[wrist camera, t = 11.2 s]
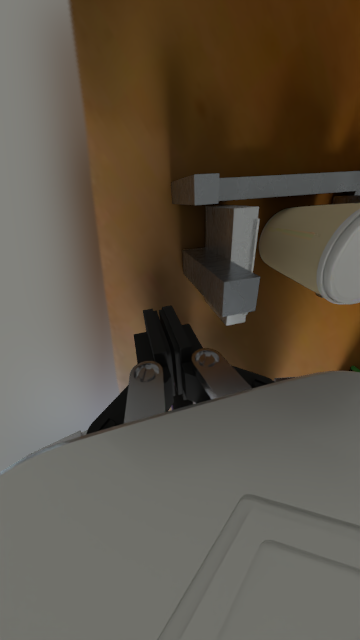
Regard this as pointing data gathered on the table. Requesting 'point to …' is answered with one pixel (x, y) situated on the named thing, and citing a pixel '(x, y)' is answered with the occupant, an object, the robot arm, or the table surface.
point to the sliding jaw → (226, 262)
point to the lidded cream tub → (317, 249)
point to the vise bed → (264, 187)
